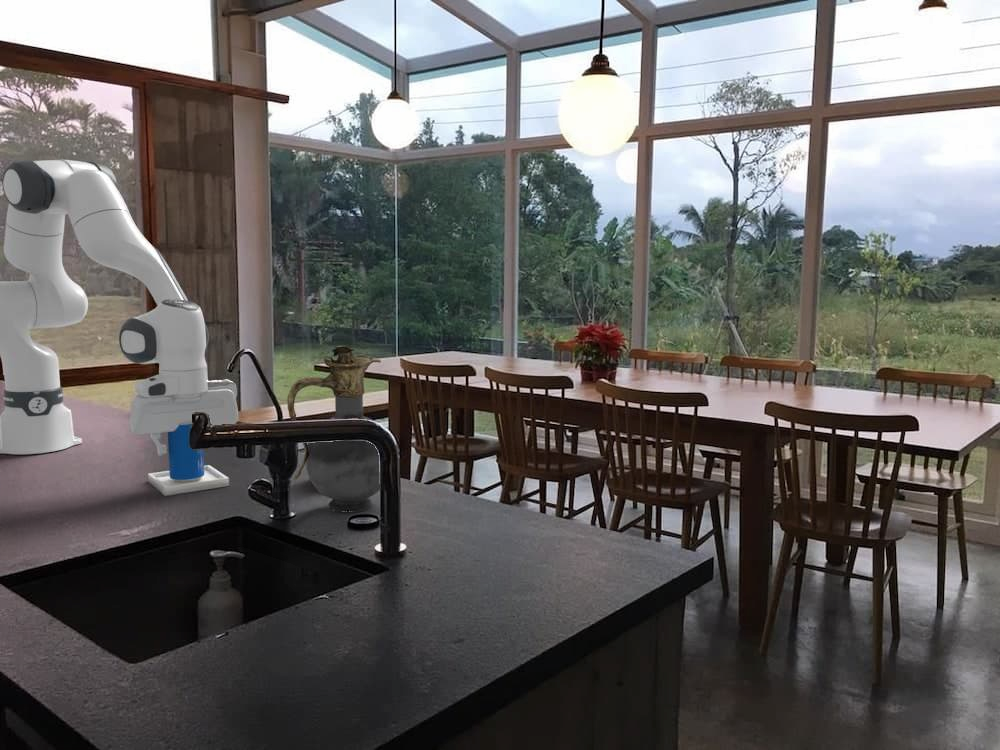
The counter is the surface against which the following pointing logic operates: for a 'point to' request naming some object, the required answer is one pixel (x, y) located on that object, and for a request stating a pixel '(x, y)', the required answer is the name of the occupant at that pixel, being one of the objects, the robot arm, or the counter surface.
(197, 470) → the beverage can
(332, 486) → the pitcher
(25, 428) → the robot arm
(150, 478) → the tray
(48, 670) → the counter surface
